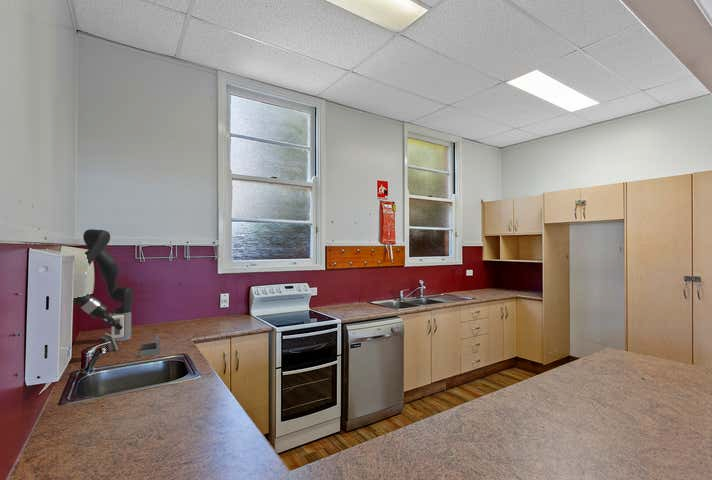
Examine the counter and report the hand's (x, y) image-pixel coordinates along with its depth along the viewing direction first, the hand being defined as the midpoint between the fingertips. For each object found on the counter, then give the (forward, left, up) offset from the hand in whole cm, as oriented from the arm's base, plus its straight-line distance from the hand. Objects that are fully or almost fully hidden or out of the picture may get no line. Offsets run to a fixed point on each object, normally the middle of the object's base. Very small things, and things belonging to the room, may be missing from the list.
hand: (121, 327), depth 189 cm
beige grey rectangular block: (0, -2, -5) cm, 5 cm away
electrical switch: (-14, -7, -16) cm, 22 cm away
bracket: (0, +13, -15) cm, 20 cm away
